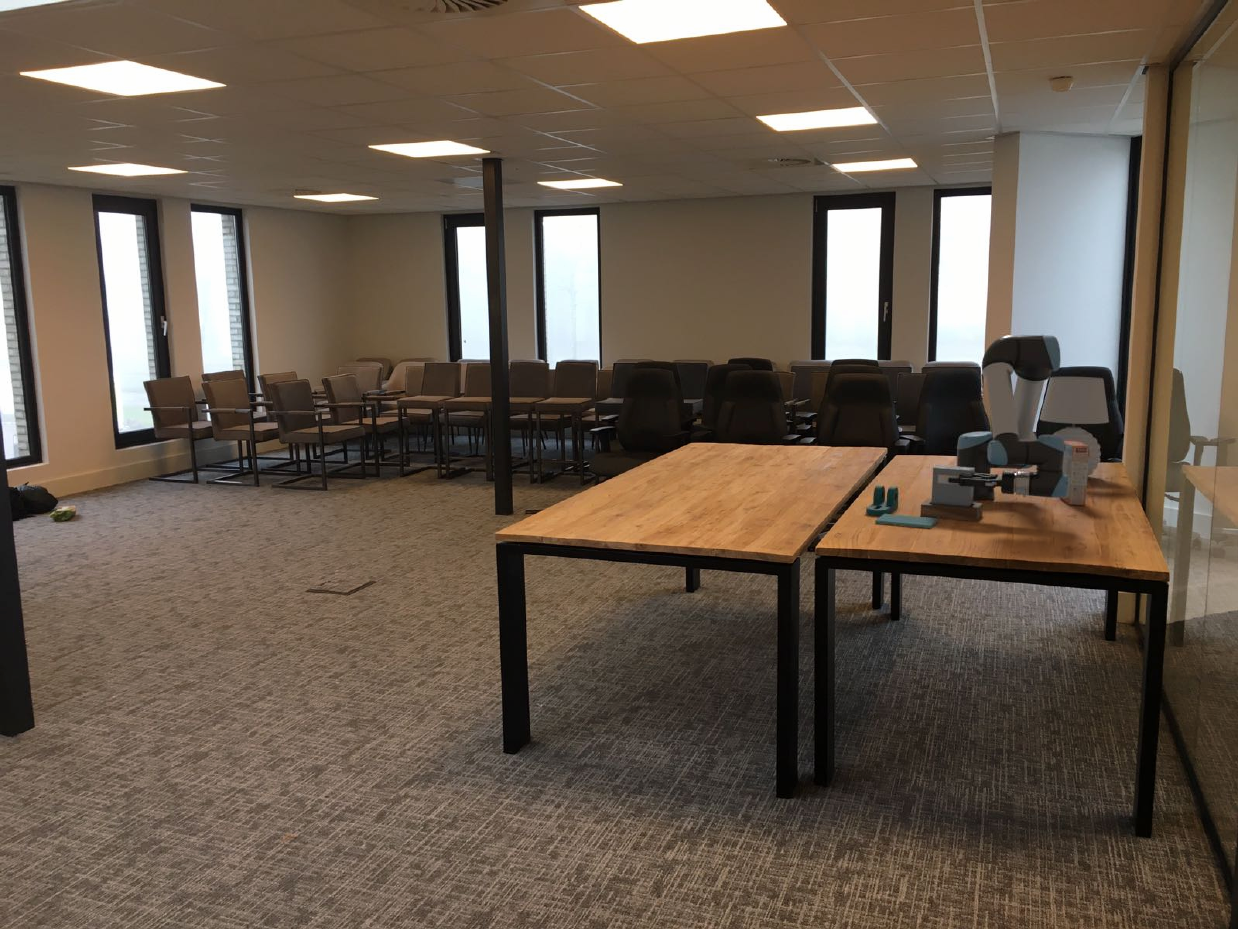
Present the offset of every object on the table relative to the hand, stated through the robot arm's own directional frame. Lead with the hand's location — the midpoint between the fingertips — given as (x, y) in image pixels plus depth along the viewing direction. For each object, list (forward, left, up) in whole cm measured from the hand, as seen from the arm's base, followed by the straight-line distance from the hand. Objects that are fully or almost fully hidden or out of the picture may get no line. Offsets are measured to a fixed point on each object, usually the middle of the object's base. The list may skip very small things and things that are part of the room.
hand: (940, 477), depth 326 cm
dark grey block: (+2, +4, -11) cm, 11 cm away
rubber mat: (+12, -14, -13) cm, 22 cm away
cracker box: (-20, +55, -13) cm, 60 cm away
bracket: (-7, -17, -13) cm, 23 cm away
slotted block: (+2, +4, -13) cm, 13 cm away
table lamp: (-73, +80, -13) cm, 109 cm away
